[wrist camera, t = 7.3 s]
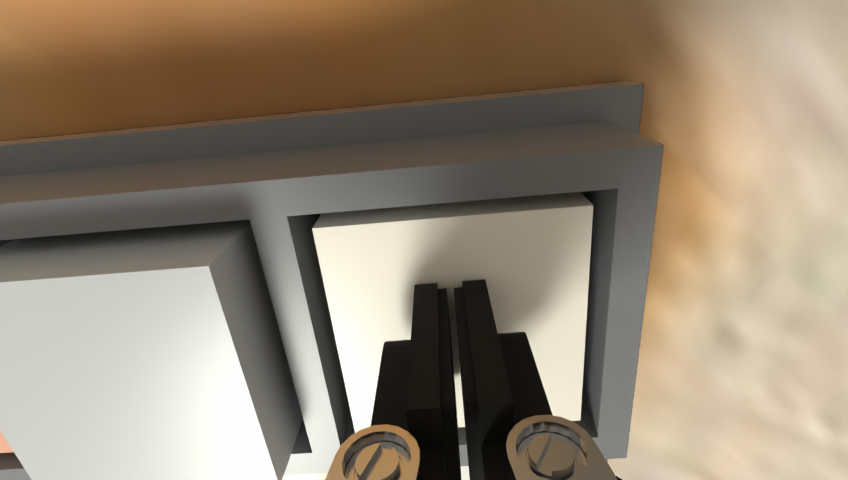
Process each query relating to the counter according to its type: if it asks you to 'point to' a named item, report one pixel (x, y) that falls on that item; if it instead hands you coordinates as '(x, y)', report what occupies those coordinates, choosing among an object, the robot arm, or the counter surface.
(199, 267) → the grey key
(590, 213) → the cream key
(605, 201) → the keypad
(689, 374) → the counter surface
